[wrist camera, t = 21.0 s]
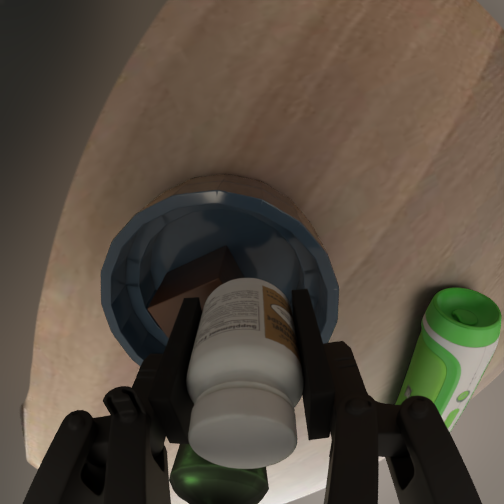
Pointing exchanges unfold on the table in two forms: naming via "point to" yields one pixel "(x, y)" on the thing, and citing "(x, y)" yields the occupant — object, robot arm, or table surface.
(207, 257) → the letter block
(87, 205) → the table surface
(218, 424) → the pill bottle
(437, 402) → the speaker
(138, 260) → the blue round bin
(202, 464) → the potion bottle
